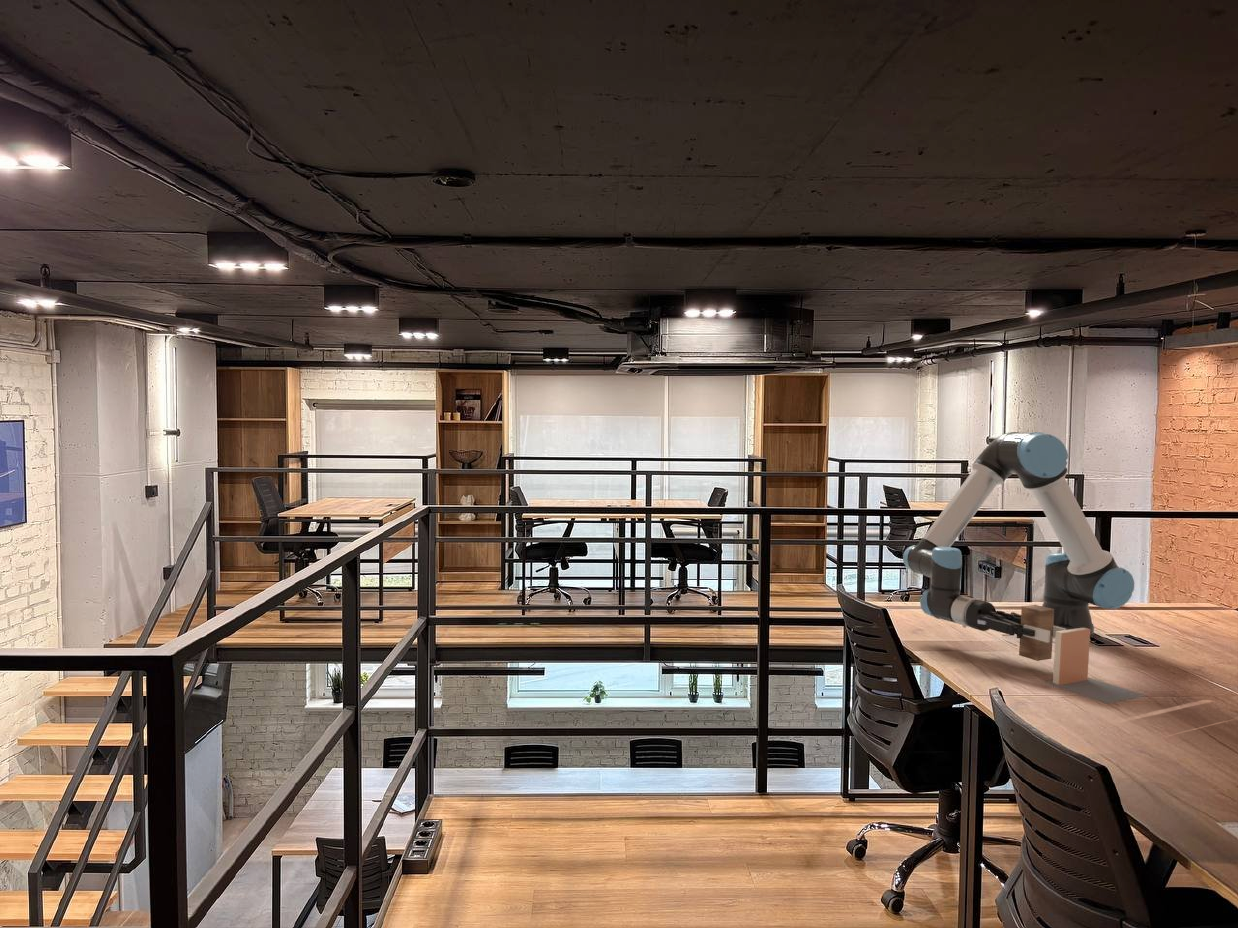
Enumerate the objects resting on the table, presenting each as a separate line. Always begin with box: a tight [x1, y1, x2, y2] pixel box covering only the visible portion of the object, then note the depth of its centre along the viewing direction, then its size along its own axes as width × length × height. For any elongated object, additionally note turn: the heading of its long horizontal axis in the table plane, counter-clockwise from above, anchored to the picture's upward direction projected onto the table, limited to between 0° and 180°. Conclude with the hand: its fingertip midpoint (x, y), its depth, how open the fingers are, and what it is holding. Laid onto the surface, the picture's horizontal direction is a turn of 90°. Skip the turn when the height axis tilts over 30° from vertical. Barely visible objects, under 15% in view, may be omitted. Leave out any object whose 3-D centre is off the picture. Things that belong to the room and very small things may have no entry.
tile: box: [1052, 628, 1091, 685], centre depth 190 cm, size 2×10×12 cm, turn 117°
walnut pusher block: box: [1018, 604, 1054, 662], centre depth 198 cm, size 5×5×12 cm
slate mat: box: [1044, 677, 1148, 705], centre depth 185 cm, size 15×14×1 cm
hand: (1056, 635), depth 193 cm, fingers closed on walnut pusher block, 5 cm apart
